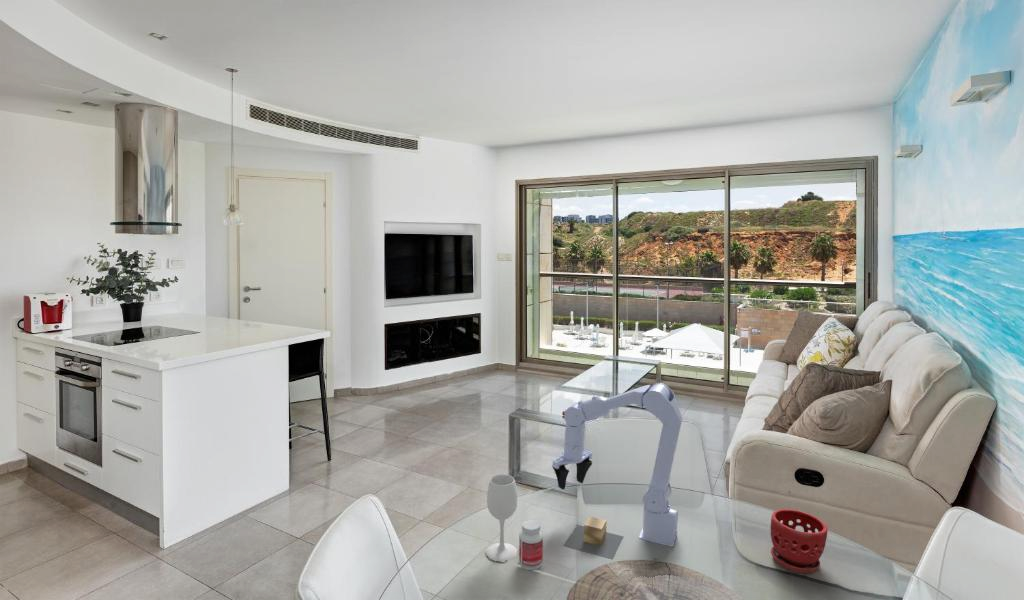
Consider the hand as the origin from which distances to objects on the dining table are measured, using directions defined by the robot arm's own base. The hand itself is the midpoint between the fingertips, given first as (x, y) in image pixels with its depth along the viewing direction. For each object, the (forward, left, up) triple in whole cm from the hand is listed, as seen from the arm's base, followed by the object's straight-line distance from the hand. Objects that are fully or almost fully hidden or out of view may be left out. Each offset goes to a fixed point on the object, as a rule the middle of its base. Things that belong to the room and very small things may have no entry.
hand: (570, 484), depth 166 cm
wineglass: (+10, +27, -10) cm, 31 cm away
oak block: (-11, +10, -9) cm, 18 cm away
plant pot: (-62, -4, -10) cm, 63 cm away
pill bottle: (+1, +28, -10) cm, 30 cm away
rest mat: (-11, +11, -10) cm, 18 cm away
